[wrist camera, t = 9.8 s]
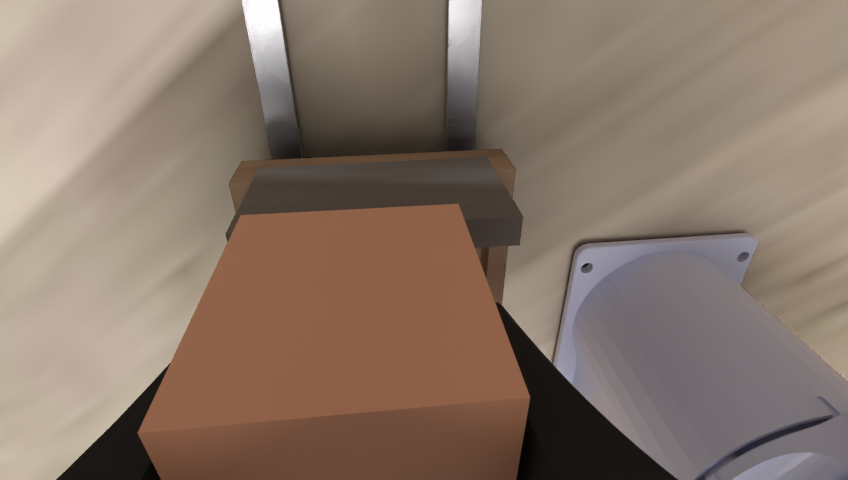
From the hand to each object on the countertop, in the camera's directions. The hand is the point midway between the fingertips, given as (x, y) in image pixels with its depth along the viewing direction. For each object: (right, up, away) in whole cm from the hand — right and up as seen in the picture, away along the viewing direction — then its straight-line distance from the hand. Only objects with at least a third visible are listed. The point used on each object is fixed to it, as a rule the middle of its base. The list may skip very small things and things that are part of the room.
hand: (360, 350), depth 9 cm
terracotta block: (0, +1, +1) cm, 2 cm away
